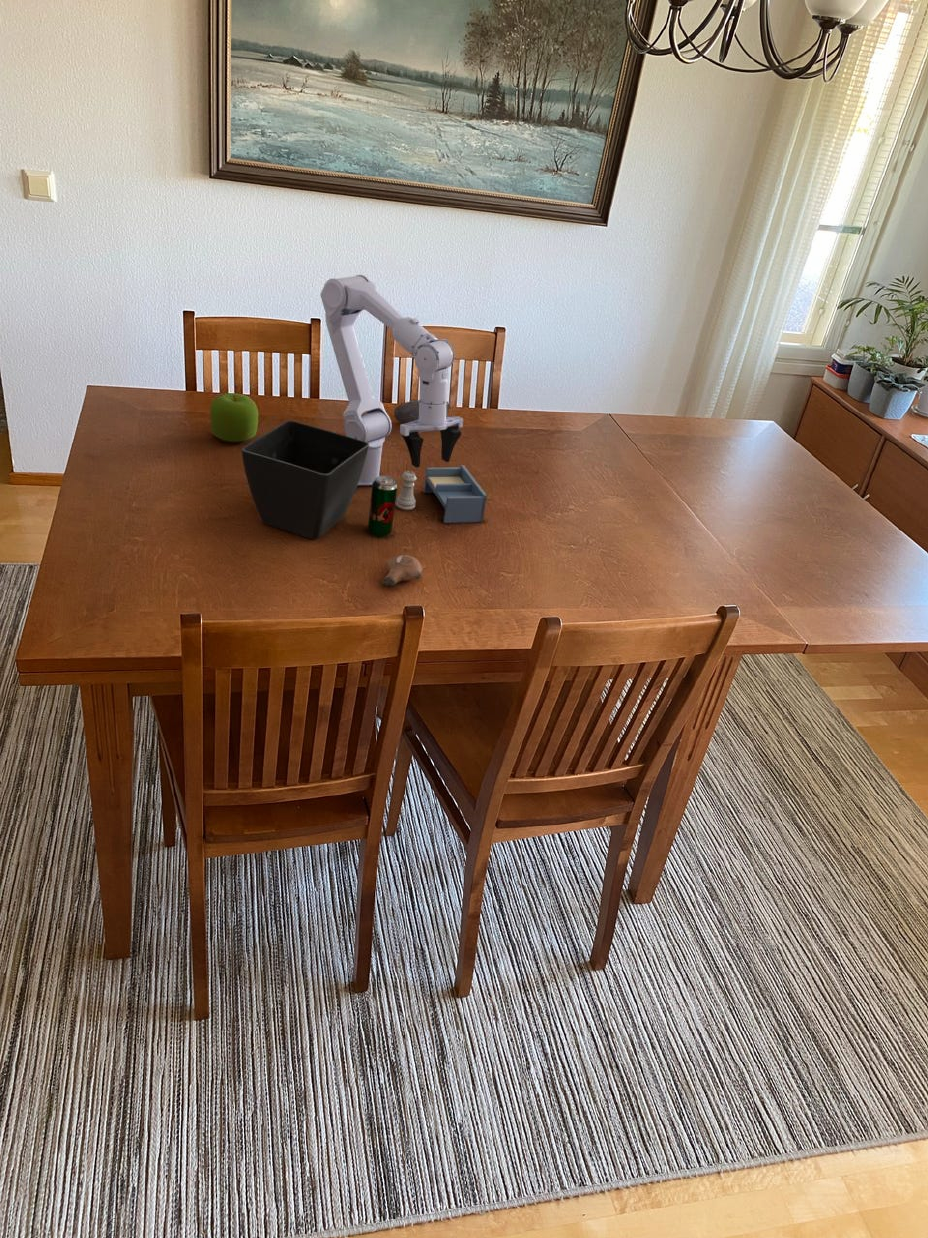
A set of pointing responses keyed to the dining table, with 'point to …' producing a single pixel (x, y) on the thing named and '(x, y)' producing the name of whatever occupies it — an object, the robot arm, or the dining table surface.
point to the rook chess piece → (407, 492)
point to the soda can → (382, 506)
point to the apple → (233, 417)
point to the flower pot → (303, 476)
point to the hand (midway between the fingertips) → (430, 463)
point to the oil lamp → (402, 570)
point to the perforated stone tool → (410, 411)
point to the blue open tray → (456, 493)
